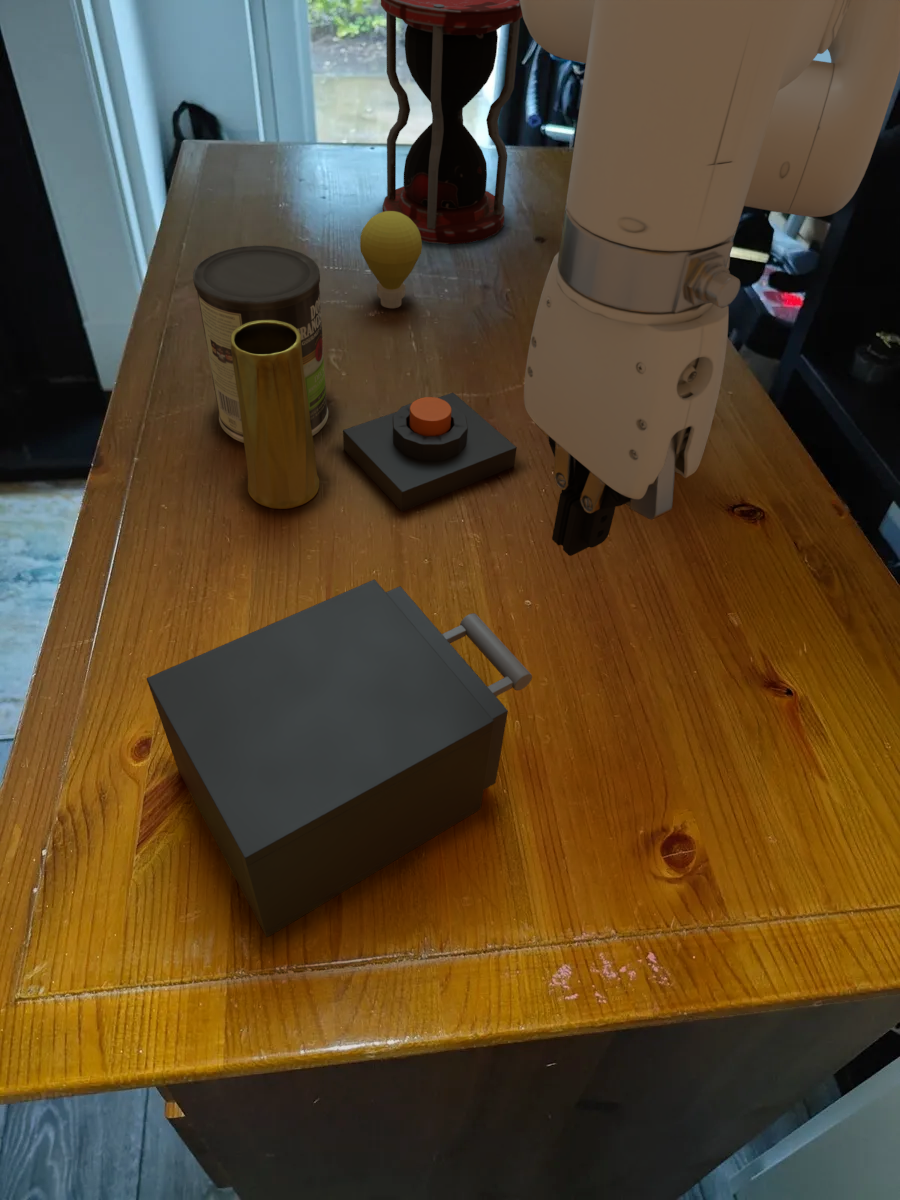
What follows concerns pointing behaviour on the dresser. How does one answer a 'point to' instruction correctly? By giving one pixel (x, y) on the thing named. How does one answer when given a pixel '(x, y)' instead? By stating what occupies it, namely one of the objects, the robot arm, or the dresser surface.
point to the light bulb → (391, 253)
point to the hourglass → (449, 115)
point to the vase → (274, 414)
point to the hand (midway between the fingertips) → (579, 539)
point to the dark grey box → (323, 748)
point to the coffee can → (260, 318)
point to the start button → (430, 416)
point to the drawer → (492, 651)
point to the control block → (428, 454)
